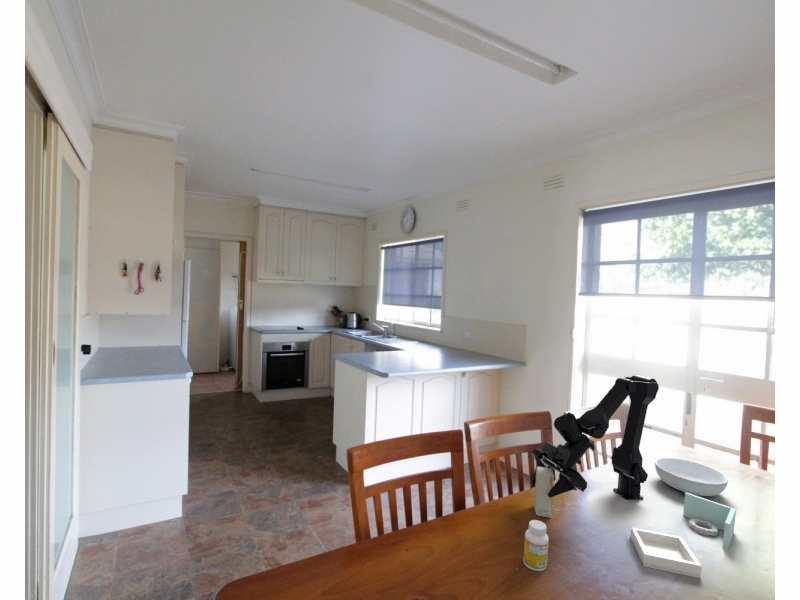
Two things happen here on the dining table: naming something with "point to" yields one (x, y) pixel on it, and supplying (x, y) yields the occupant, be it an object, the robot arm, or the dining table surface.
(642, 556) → the holder tray
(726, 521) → the right angle wall
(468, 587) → the dining table surface
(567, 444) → the robot arm
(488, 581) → the dining table surface
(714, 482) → the serving bowl
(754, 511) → the dining table surface
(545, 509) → the skincare box
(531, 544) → the supplement bottle
